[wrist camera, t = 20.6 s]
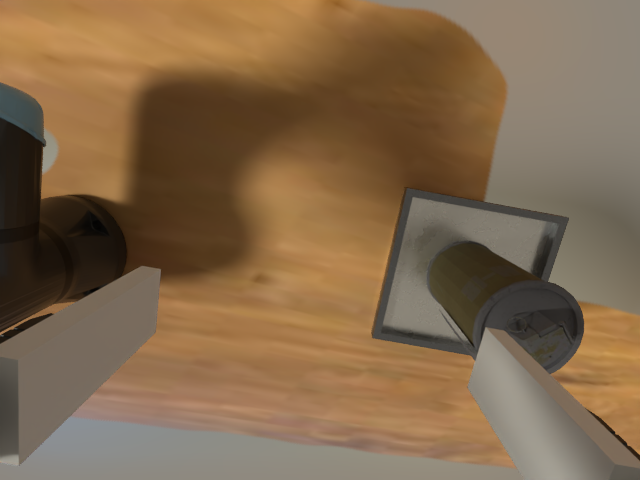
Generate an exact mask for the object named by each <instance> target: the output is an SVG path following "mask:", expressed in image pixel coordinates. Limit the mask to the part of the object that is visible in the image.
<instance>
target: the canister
mask: <svg viewBox="0 0 640 480" xmlns="http://www.w3.org/2000/svg"><path fill="white" fill-rule="evenodd" d="M427 285H428V289H429V292H430V293H431V295H432V297H433V298H434V299H435V300H436V301H437V302H438V303H439V304H440V305H441V306H442V307H443V308H444V310H445V311H446V312H447V313H448V315H449V316H450V317H451V319H452V320H453V321H454V322H455V324H456V325H457V326H458V328H459V329H460V330H461V331H462V333H463V334H464V335H465V337H466V338H467V339H468V341H469V342H470V343H471V344H472V346H473V347H474V348H475V350H476V352H474V353H472V352H471V351H470V350H469V348H468V347H467V346H466V344H465V343H464V342H463V340H462V339H461V338H460V336H459V335H458V334H457V332H456V331H455V330H454V328H453V327H452V326H451V324H450V323H449V322H448V320H447V319H446V318H445V316H444V315H443V314H442V312H441V311H440V312H441V314H442V315H443V317H444V319H445V320H446V322H447V323H448V325H449V326H450V327H451V329H452V330H453V331H454V333H455V334H456V335H457V337H458V338H459V340H460V341H461V342H462V344H463V345H464V346H465V348H466V349H467V351H468V352H469V353H470V355H471V356H472V357H473V359H474V360H475V361H476V357H477V354H478V351H479V347H480V344H481V341H482V338H483V334H484V331H485V328H486V327H487V328H493V329H498V330H504V331H505V332H506V333H507V334H508V335H509V336H510V337H512V338H513V339H514V340H515V341H516V342H517V343H518V344H519V345H520V346H521V347H522V348H523V349H524V350H525V351H526V352H527V353H528V354H529V355H530V356H531V357H532V358H533V359H534V360H535V361H536V362H538V363H539V364H540V365H541V366H542V367H543V368H544V369H545V370H546V371H547V372H548V373H549V374H551V373H554V372H555V371H557V370H559V369H560V368H561V367H562V366H564V365H565V364H566V363H567V362H568V361H569V360H570V359H571V358H572V356H573V355H574V354H575V353H576V351H577V349H578V347H579V346H580V343H581V340H582V337H583V333H584V319H583V314H582V311H581V308H580V306H579V305H578V303H577V301H576V300H575V298H574V297H573V296H572V295H571V294H570V293H569V292H567V291H566V290H565V289H564V288H562V287H560V286H558V285H556V284H554V283H550V282H546V281H543V280H542V279H540V278H538V277H536V276H534V275H533V274H531V273H529V272H527V271H526V270H524V269H522V268H520V267H519V266H517V265H515V264H513V263H511V262H510V261H508V260H506V259H504V258H503V257H501V256H499V255H497V254H495V253H494V252H492V251H491V250H490V249H489V248H487V247H486V246H484V245H482V244H480V243H477V242H471V241H461V242H456V243H453V244H450V245H448V246H446V247H445V248H443V249H442V250H441V251H439V252H438V253H437V254H436V255H435V257H434V258H433V260H432V261H431V263H430V266H429V268H428V272H427Z"/></svg>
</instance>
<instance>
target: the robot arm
mask: <svg viewBox="0 0 640 480" xmlns="http://www.w3.org/2000/svg"><path fill="white" fill-rule="evenodd" d="M45 146H46V141H45V139H44V116H43V110H42V108H41V106H40V105H39V103H38V102H37V101H36V100H35V99H34V98H33V97H31V96H30V95H29V94H27V93H25V92H23V91H21V90H18V89H16V88H14V87H11V86H8V85H6V84H3V83H1V82H0V332H2V331H4V330H6V329H7V328H9V327H11V326H13V325H15V324H17V323H19V322H21V321H22V320H24V319H26V318H28V317H30V316H32V315H34V314H36V313H37V312H39V311H41V310H43V309H45V308H47V307H49V306H51V305H52V304H58V303H67V302H75V303H74V304H72V305H70V306H68V307H66V308H64V309H63V310H61V311H59V312H57V313H55V314H52V313H50V314H47V315H43V316H40V317H36V318H33V319H30V320H28V321H26V322H24V323H22V324H20V325H18V326H17V327H15V328H14V329H13V330H9V331H7V332H5V333H3V334H1V335H0V463H3V464H9V465H15V466H20V464H22V463H23V462H24V461H25V460H26V459H27V457H29V456H30V455H31V454H32V453H33V452H34V451H35V450H36V449H37V448H38V447H39V446H40V445H41V444H42V443H43V442H44V441H45V440H46V439H47V438H48V437H49V436H50V435H51V434H52V433H53V432H54V431H55V430H56V429H57V428H58V427H59V426H60V425H61V424H62V423H63V422H64V421H65V420H67V419H68V418H69V417H70V416H71V415H72V414H73V413H74V412H75V411H76V410H77V409H78V408H79V407H80V406H81V405H82V404H83V403H84V402H85V401H86V400H87V399H88V398H89V397H90V396H91V395H92V394H93V393H94V392H95V391H96V390H97V389H98V388H99V387H100V386H101V385H102V384H103V383H104V382H105V381H106V380H107V379H108V378H109V377H110V376H111V375H113V374H114V373H115V372H116V371H117V370H118V369H119V368H120V367H121V366H122V365H123V364H124V363H125V362H126V361H127V360H128V359H129V358H130V357H131V356H132V355H133V354H134V353H135V352H136V351H137V350H138V349H139V348H140V347H141V346H142V345H143V344H144V343H145V342H146V341H147V340H148V339H149V338H150V337H151V336H152V335H153V334H154V333H155V332H156V322H157V311H158V299H159V288H160V276H161V269H157V268H152V267H146V266H141V267H139V268H137V269H135V270H133V271H131V272H130V273H128V274H126V275H124V276H122V277H121V278H120V276H121V274H122V272H123V270H124V267H125V263H126V244H125V240H124V237H123V234H122V232H121V230H120V228H119V226H118V224H117V223H116V221H115V220H114V219H113V218H112V216H111V215H110V214H109V213H108V212H107V211H106V210H104V209H103V208H102V207H100V206H99V205H97V204H96V203H94V202H92V201H90V200H87V199H85V198H81V197H77V196H56V197H49V198H45V199H41V182H42V160H43V147H45ZM76 301H77V302H76ZM467 388H468V389H469V391H470V392H471V394H472V396H473V397H474V399H475V401H476V402H477V404H478V405H479V407H480V409H481V410H482V412H483V414H484V415H485V417H486V419H487V420H488V422H489V423H490V425H491V427H492V428H493V430H494V432H495V433H496V435H497V436H498V438H499V440H500V441H501V443H502V445H503V446H504V448H505V450H506V451H507V453H508V454H509V456H510V458H511V459H512V461H513V463H514V464H515V466H516V467H517V469H518V471H519V472H520V474H521V476H522V477H523V479H524V480H640V455H639V454H638V453H637V452H636V451H635V450H634V449H633V448H631V447H630V446H627V443H626V442H625V441H624V440H623V439H622V438H621V437H620V436H619V435H616V434H615V431H613V430H612V429H611V428H610V427H609V426H608V425H607V424H606V423H605V422H604V421H603V420H602V419H601V418H599V417H598V416H596V415H595V414H593V413H592V412H590V411H589V410H587V409H586V408H585V407H583V406H582V405H581V404H580V403H579V402H578V401H577V400H576V399H575V398H574V397H573V396H572V395H571V394H570V393H569V392H568V391H567V390H566V389H565V388H564V387H562V386H561V385H560V384H559V383H558V382H557V381H556V380H555V379H554V378H553V377H552V376H551V375H550V374H549V373H548V372H547V371H546V370H545V369H544V368H543V367H542V366H541V365H540V364H539V363H538V362H536V361H535V360H534V359H533V358H532V357H531V356H530V355H529V354H528V353H527V352H526V351H525V350H524V349H523V348H522V347H521V346H520V345H519V344H518V343H517V342H516V341H515V340H514V339H513V338H512V337H510V336H509V335H508V334H507V333H506V332H505V331H504V330H498V329H493V328H487V327H486V328H485V331H484V334H483V338H482V341H481V344H480V347H479V351H478V354H477V357H476V361H475V364H474V367H473V371H472V374H471V377H470V380H469V384H468V387H467Z"/></svg>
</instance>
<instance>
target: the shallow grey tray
mask: <svg viewBox="0 0 640 480" xmlns="http://www.w3.org/2000/svg"><path fill="white" fill-rule="evenodd" d="M568 220H569V218H567V217H563V216H558V215H553V214H547V213H542V212H537V211H531V210H526V209H520V208H515V207H509V206H503V205H498V204H493V203H487V202H482V201H477V200H471V199H466V198H460V197H455V196H449V195H444V194H438V193H433V192H428V191H422V190H417V189H411V188H406V187H404V191H403V195H402V199H401V204H400V208H399V212H398V217H397V221H396V225H395V230H394V234H393V239H392V243H391V247H390V252H389V256H388V260H387V265H386V269H385V274H384V278H383V282H382V287H381V291H380V295H379V300H378V304H377V309H376V313H375V317H374V322H373V326H372V330H371V334H372V338H375V339H381V340H386V341H392V342H398V343H403V344H409V345H414V346H420V347H426V348H431V349H437V350H443V351H448V352H454V353H459V354H465V355H470V353H469V352H468V351H467V349H466V348H465V346H464V345H463V344H462V342H461V341H460V340H459V338H458V337H457V335H456V334H455V333H454V331H453V330H452V329H451V327H450V326H449V325H448V323H447V322H446V320H445V319H444V317H443V315H444V316H445V318H446V319H447V320H448V322H449V323H450V324H451V326H452V327H453V328H454V330H455V331H456V332H457V334H458V335H459V336H460V338H461V339H462V340H463V342H464V343H465V344H466V346H467V347H468V348H469V350H470V351H471V352H472V353H474V352H476V350H475V348H474V347H473V346H472V344H471V343H470V342H469V341H468V339H467V338H466V337H465V335H464V334H463V333H462V331H461V330H460V329H459V328H458V326H457V325H456V324H455V322H454V321H453V320H452V319H451V317H450V316H449V315H448V313H447V312H446V311H445V310H444V308H443V307H442V306H441V305H440V304H439V303H438V302H437V301H436V300H435V299H434V298H433V297H432V295H431V293H430V292H429V289H428V285H427V272H428V268H429V266H430V263H431V261H432V260H433V258H434V257H435V255H436V254H437V253H438V252H439V251H441V250H442V249H443V248H445V247H446V246H448V245H450V244H453V243H456V242H461V241H471V242H477V243H480V244H482V245H484V246H486V247H487V248H489V249H490V250H491V251H492V252H494V253H495V254H497V255H499V256H501V257H503V258H504V259H506V260H508V261H510V262H511V263H513V264H515V265H517V266H519V267H520V268H522V269H524V270H526V271H527V272H529V273H531V274H533V275H534V276H536V277H538V278H540V279H542V280H543V281H546V282H548V279H549V277H550V274H551V271H552V268H553V265H554V262H555V258H556V256H557V253H558V250H559V247H560V244H561V241H562V238H563V235H564V232H565V229H566V225H567V223H568ZM440 311H441V312H442V314H443V315H442V314H441V312H440Z"/></svg>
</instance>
